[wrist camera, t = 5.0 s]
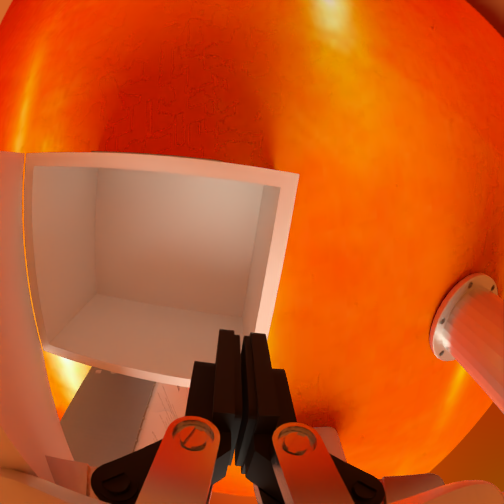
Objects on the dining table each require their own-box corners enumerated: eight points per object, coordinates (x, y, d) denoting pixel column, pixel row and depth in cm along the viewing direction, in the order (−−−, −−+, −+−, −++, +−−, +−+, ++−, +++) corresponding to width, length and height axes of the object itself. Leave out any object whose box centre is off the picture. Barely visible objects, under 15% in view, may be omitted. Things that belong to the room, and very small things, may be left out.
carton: (274, 170, 23) (299, 172, 13) (249, 321, 27) (254, 394, 17) (96, 152, 22) (26, 151, 12) (94, 295, 26) (43, 350, 16)
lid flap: (-67, 147, 1) (-110, 158, 1) (129, 556, 5) (115, 560, 4) (24, 153, 12) (14, 153, 11) (42, 351, 16) (34, 352, 15)
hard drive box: (109, 333, 27) (22, 482, 8) (174, 332, 27) (118, 519, 8) (149, 425, 32) (119, 549, 12) (203, 427, 32) (192, 562, 13)
